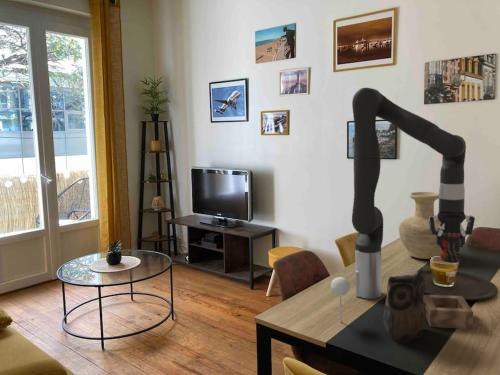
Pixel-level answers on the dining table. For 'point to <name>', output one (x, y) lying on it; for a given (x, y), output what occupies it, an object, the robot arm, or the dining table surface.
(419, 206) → the vase
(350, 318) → the dining table surface
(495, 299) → the dining table surface
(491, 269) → the dining table surface
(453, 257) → the deodorant
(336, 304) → the dining table surface
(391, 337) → the owl
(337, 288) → the lollipop
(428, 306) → the socket block
